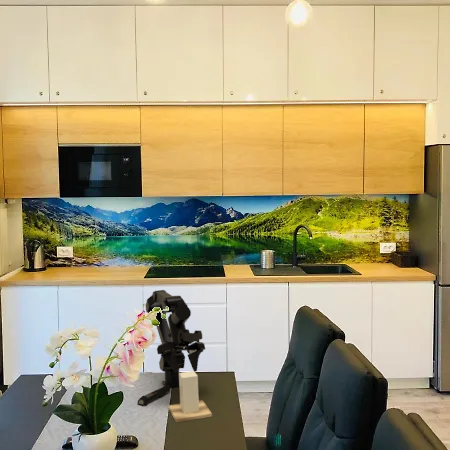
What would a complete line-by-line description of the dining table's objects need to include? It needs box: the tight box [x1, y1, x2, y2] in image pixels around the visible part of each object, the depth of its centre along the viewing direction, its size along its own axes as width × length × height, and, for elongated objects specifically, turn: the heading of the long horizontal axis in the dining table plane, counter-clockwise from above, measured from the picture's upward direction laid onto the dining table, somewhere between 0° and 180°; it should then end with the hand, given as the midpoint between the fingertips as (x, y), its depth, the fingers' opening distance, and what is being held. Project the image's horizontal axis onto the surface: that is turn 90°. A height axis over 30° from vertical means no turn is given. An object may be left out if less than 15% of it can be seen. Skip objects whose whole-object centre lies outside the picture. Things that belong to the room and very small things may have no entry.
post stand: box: [168, 399, 213, 423], centre depth 182 cm, size 12×12×4 cm
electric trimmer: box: [136, 385, 171, 407], centre depth 196 cm, size 4×16×3 cm, turn 146°
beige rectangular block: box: [179, 370, 200, 414], centre depth 182 cm, size 5×5×12 cm
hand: (186, 371), depth 191 cm, fingers open, 9 cm apart
